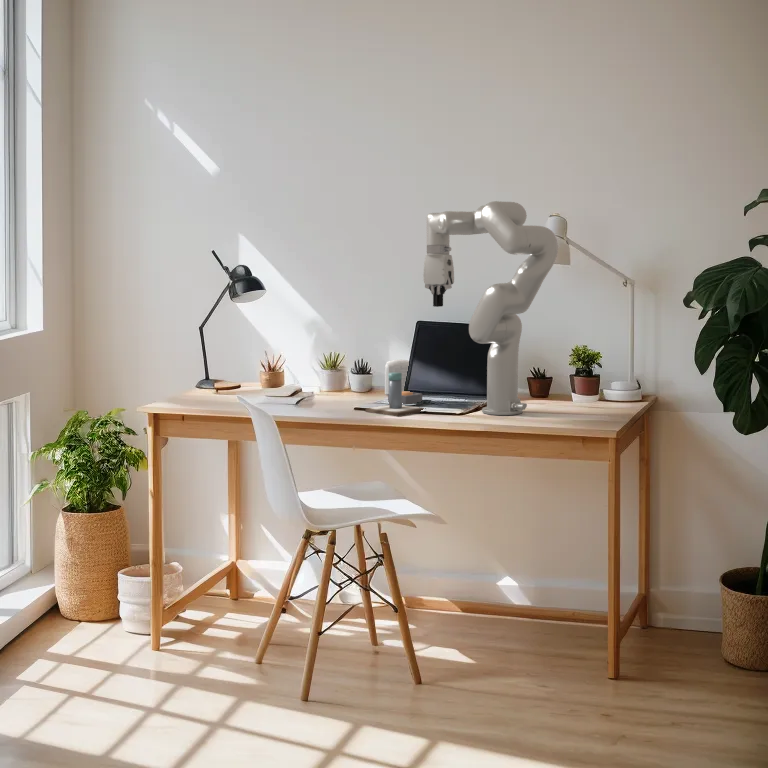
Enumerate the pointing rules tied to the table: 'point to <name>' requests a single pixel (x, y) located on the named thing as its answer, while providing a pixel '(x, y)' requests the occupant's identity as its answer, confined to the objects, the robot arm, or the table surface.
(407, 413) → the board
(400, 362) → the photo printer
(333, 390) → the table surface
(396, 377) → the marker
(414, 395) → the button housing
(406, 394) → the button
